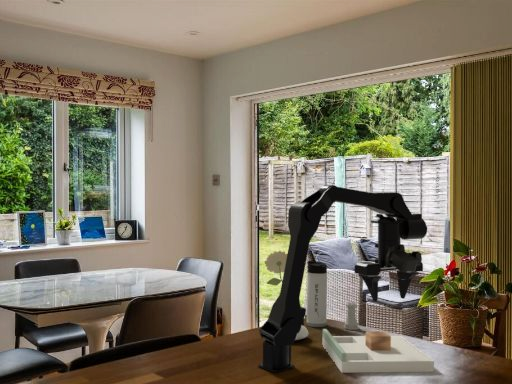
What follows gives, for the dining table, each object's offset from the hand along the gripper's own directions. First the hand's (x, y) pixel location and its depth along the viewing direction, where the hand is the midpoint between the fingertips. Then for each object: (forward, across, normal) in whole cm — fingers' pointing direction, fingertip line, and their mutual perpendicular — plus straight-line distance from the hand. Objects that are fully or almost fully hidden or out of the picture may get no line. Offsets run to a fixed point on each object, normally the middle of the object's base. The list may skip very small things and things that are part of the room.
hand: (389, 299), depth 144 cm
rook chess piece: (+14, +7, +26) cm, 30 cm away
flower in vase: (+14, -17, +24) cm, 33 cm away
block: (+11, -5, -2) cm, 13 cm away
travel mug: (+14, 0, +34) cm, 37 cm away
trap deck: (+14, -6, -1) cm, 15 cm away
